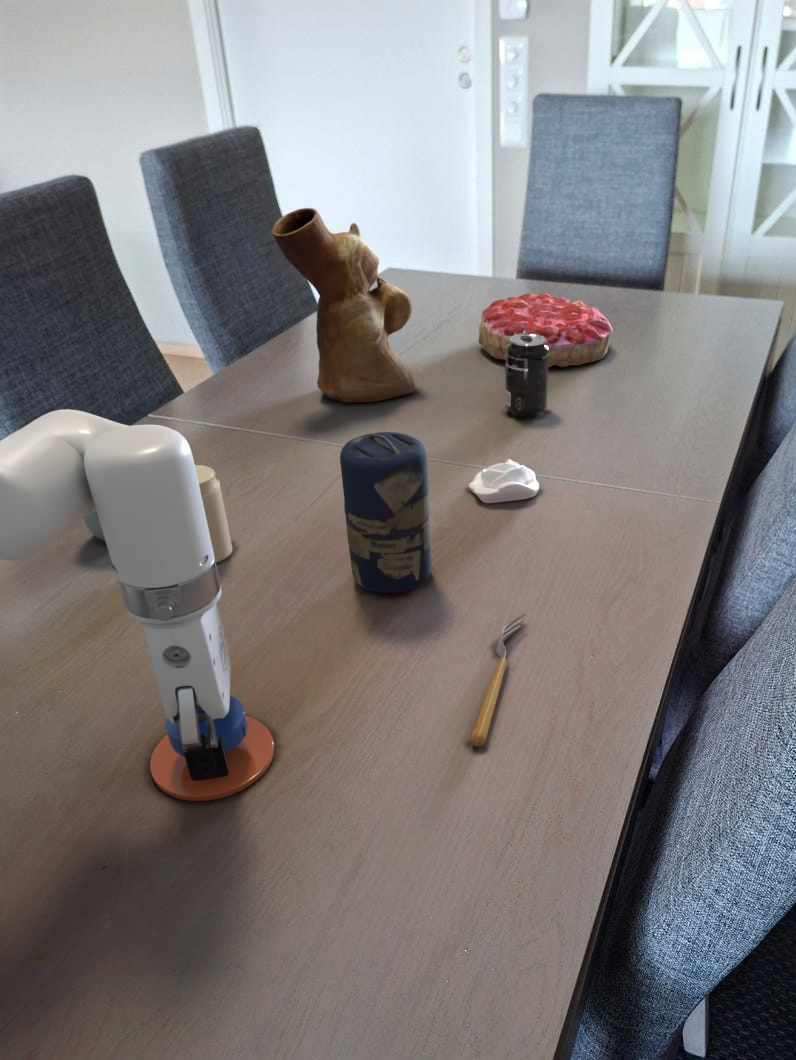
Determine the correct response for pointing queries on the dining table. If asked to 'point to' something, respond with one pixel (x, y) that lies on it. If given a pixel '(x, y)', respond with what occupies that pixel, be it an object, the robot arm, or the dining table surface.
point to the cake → (547, 327)
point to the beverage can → (526, 375)
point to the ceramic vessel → (348, 309)
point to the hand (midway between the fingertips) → (211, 746)
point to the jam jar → (214, 512)
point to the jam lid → (226, 728)
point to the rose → (505, 483)
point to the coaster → (243, 771)
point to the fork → (493, 688)
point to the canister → (387, 510)
